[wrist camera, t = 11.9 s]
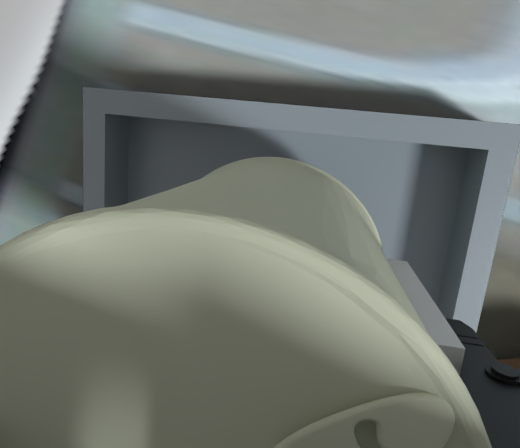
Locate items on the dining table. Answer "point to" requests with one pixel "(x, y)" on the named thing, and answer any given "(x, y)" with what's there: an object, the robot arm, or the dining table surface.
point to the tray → (329, 160)
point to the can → (221, 325)
